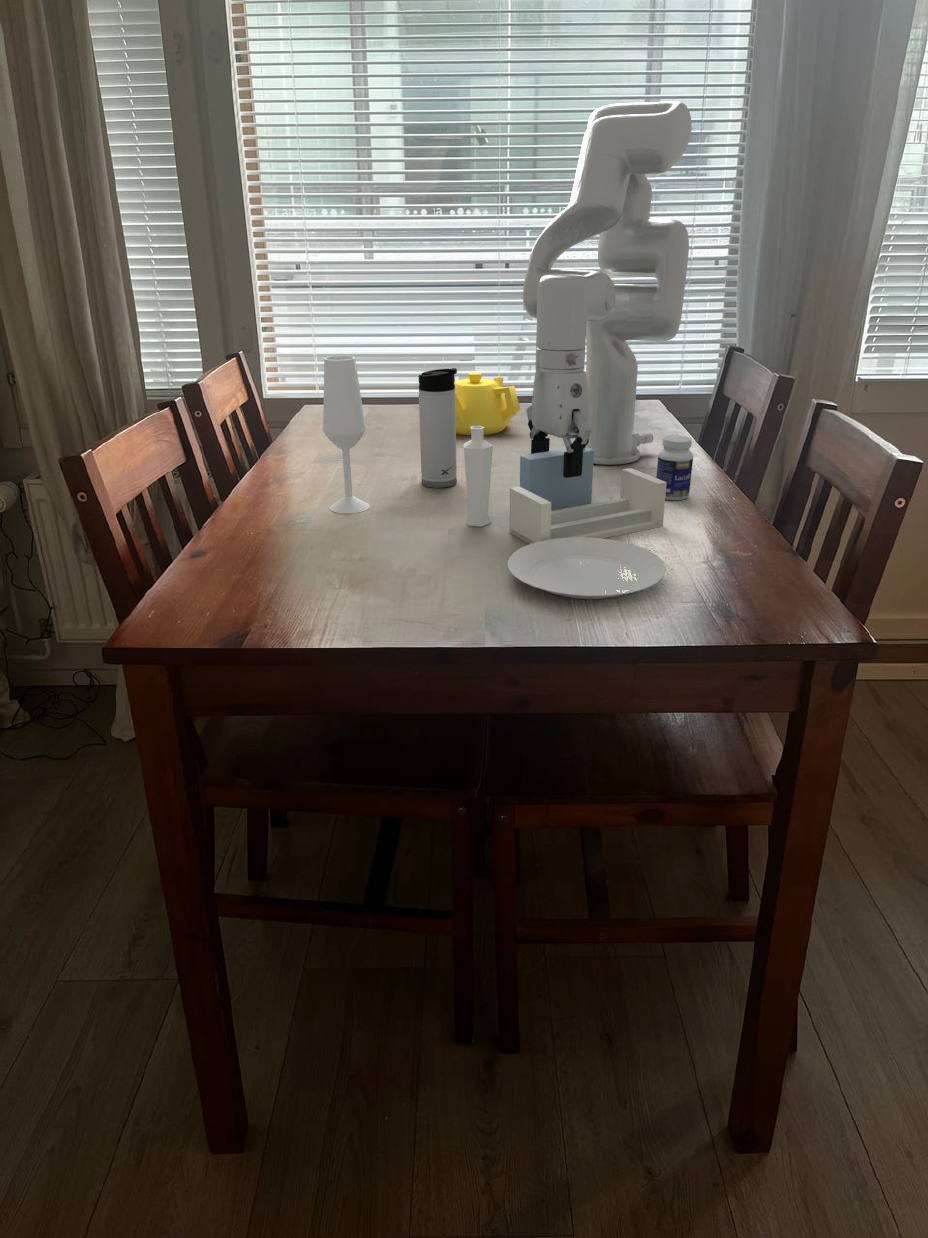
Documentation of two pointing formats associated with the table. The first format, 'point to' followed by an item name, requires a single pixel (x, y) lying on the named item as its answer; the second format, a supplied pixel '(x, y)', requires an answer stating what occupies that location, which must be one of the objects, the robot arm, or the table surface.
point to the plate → (586, 567)
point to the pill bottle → (675, 466)
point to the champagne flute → (343, 420)
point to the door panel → (557, 478)
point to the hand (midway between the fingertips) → (555, 469)
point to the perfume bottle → (478, 477)
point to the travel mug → (438, 428)
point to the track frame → (590, 512)
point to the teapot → (484, 404)
